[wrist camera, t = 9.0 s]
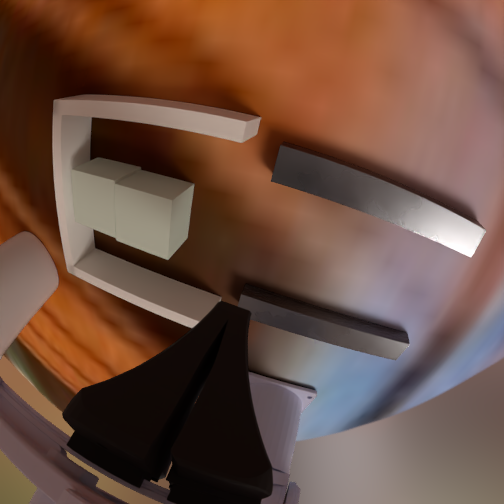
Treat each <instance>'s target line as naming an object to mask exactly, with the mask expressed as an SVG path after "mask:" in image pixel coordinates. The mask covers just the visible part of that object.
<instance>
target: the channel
mask: <svg viewBox="0 0 504 504" xmlns="http://www.w3.org/2000/svg"><path fill="white" fill-rule="evenodd" d="M271 181H272V182H275V183H278V184H282V185H285V186H288V187H291V188H295V189H298V190H301V191H304V192H307V193H310V194H313V195H316V196H319V197H322V198H325V199H328V200H331V201H334V202H337V203H339V204H342V205H345V206H348V207H351V208H353V209H356V210H359V211H362V212H364V213H367V214H370V215H372V216H375V217H378V218H380V219H383V220H385V221H388V222H390V223H393V224H395V225H398V226H400V227H403V228H405V229H408V230H410V231H413V232H415V233H417V234H420V235H422V236H424V237H427V238H429V239H431V240H434V241H436V242H438V243H440V244H443V245H445V246H447V247H449V248H452V249H454V250H456V251H458V252H460V253H462V254H464V255H467V256H469V257H472V255H473V254H474V252H475V250H476V248H477V246H478V245H479V243H480V241H481V239H482V237H483V235H484V233H485V232H486V230H485V229H484V227H483V226H482V225H481V224H480V223H479V222H478V221H476V220H474V219H472V218H471V217H469V216H467V215H465V214H463V213H461V212H459V211H458V210H456V209H454V208H452V207H450V206H448V205H446V204H444V203H442V202H440V201H438V200H436V199H434V198H432V197H430V196H427V195H425V194H423V193H421V192H419V191H417V190H415V189H412V188H410V187H408V186H406V185H403V184H401V183H399V182H396V181H394V180H392V179H389V178H387V177H384V176H382V175H379V174H377V173H374V172H372V171H369V170H367V169H364V168H362V167H359V166H356V165H354V164H351V163H348V162H345V161H342V160H340V159H337V158H334V157H331V156H328V155H325V154H322V153H319V152H316V151H313V150H310V149H306V148H303V147H300V146H297V145H293V144H290V143H286V142H283V143H282V144H281V145H280V149H279V152H278V156H277V160H276V164H275V168H274V171H273V175H272V179H271ZM238 307H241V308H244V309H247V310H249V311H250V312H251V313H252V314H251V317H250V319H251V320H254V321H257V322H260V323H263V324H267V325H270V326H273V327H276V328H279V329H282V330H286V331H289V332H292V333H295V334H299V335H302V336H305V337H309V338H312V339H316V340H319V341H323V342H326V343H330V344H333V345H337V346H341V347H344V348H348V349H352V350H356V351H360V352H364V353H368V354H372V355H376V356H380V357H384V358H388V359H392V360H397V358H398V357H399V356H400V355H401V354H402V353H403V352H404V350H405V349H406V348H407V347H408V346H409V345H410V344H409V339H408V334H407V333H406V332H402V331H398V330H395V329H391V328H388V327H384V326H381V325H377V324H374V323H370V322H367V321H363V320H360V319H357V318H353V317H350V316H346V315H343V314H340V313H337V312H333V311H330V310H327V309H323V308H320V307H317V306H314V305H310V304H307V303H304V302H301V301H298V300H295V299H291V298H288V297H285V296H282V295H279V294H276V293H273V292H270V291H267V290H264V289H261V288H257V287H254V286H251V285H248V284H245V286H244V289H243V291H242V293H241V296H240V300H239V304H238Z"/></svg>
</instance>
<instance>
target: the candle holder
mask: <svg viewBox="0 0 504 504" xmlns="http://www.w3.org/2000/svg"><path fill="white" fill-rule="evenodd" d="M58 284H59V277H58V273H57V269H56V266H55V264H54V262H53V260H52V258H51V256H50V254H49V252H48V251H47V249H46V248H45V246H44V245H43V244H42V242H41V241H40V240H39V239H38V238H37V237H36V236H35V235H33V234H32V233H30V232H27V231H23V232H20V233H18V234H17V235H15V236H13V237H12V238H10V239H8V240H7V241H5V242H4V243H2V244H1V245H0V359H1V358H2V356H3V354H4V353H5V352H6V350H7V349H8V347H9V346H10V345H11V344H12V342H13V341H14V340H15V338H16V337H17V336H18V335H19V333H20V332H21V331H22V329H23V328H24V327H25V326H26V325H27V323H28V322H29V321H30V320H31V318H32V317H33V316H34V315H35V314H36V313H37V311H38V310H39V309H40V308H41V307H42V306H43V304H44V303H45V302H46V301H47V300H48V299H49V297H50V296H51V295H52V294H53V293H54V292H55V290H56V289H57V287H58Z"/></svg>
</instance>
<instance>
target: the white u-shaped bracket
mask: <svg viewBox="0 0 504 504" xmlns="http://www.w3.org/2000/svg"><path fill="white" fill-rule="evenodd" d="M92 117H96V118H106V119H115V120H123V121H131V122H138V123H145V124H152V125H158V126H164V127H169V128H175V129H180V130H186V131H191V132H196V133H201V134H205V135H210V136H215V137H219V138H223V139H228V140H232V141H236V142H240V143H243V142H244V141H246V140H248V139H250V138H252V137H253V136H255V135H257V132H258V128H259V124H260V120H261V117H258V116H253V115H249V114H245V113H240V112H235V111H231V110H226V109H221V108H215V107H210V106H204V105H198V104H192V103H185V102H178V101H171V100H163V99H154V98H144V97H132V96H117V95H92V94H84V95H77V96H72V97H66V98H61V99H56V100H54V105H53V170H54V185H55V196H56V205H57V213H58V221H59V227H60V234H61V240H62V245H63V251H64V256H65V261H66V266H67V270H68V272H69V273H71V274H73V275H75V276H77V277H79V278H81V279H83V280H85V281H87V282H89V283H91V284H93V285H95V286H97V287H99V288H101V289H103V290H105V291H107V292H109V293H111V294H113V295H115V296H117V297H119V298H122V299H124V300H126V301H128V302H130V303H133V304H135V305H137V306H139V307H142V308H144V309H146V310H148V311H151V312H153V313H155V314H158V315H160V316H163V317H165V318H167V319H170V320H172V321H175V322H177V323H180V324H182V325H185V326H187V327H190V328H193V327H194V326H195V325H196V324H198V323H199V322H200V321H201V320H202V319H203V318H204V317H205V316H206V315H207V314H208V313H209V312H210V311H211V310H212V309H213V307H214V306H215V305H216V304H217V303H218V302H219V301H221V297H220V296H217V295H214V294H212V293H209V292H206V291H203V290H200V289H198V288H195V287H192V286H189V285H187V284H184V283H181V282H179V281H176V280H173V279H171V278H168V277H165V276H163V275H160V274H158V273H155V272H153V271H150V270H147V269H145V268H142V267H140V266H137V265H135V264H132V263H130V262H127V261H125V260H123V259H120V258H118V257H115V256H113V255H110V254H108V253H106V252H103V251H101V250H99V249H96V248H95V242H94V232H93V229H92V228H90V227H87V226H85V225H82V224H80V223H77V222H75V217H74V206H73V194H72V177H71V169H73V168H75V167H77V166H79V165H82V164H84V163H86V162H88V161H90V142H91V121H92Z"/></svg>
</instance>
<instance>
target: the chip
mask: <svg viewBox="0 0 504 504" xmlns="http://www.w3.org/2000/svg"><path fill="white" fill-rule="evenodd" d="M140 170H141V167H138V166H134V165H130V164H126V163H122V162H117V161H113V160H108V159H104V158H99V157H98V158H95V159H93V160H91V161H88V162H86V163H84V164H82V165H79V166H77V167H75V168H73V169H71V177H72V194H73V206H74V217H75V222H77V223H80V224H82V225H85V226H87V227H90V228H92V229H95V230H97V231H100V232H102V233H105V234H107V235H110V236H112V237H115V238H116V223H115V184H116V183H117V182H119V181H121V180H123V179H125V178H127V177H128V176H130V175H132V174H134V173H136V172H138V171H140Z"/></svg>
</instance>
